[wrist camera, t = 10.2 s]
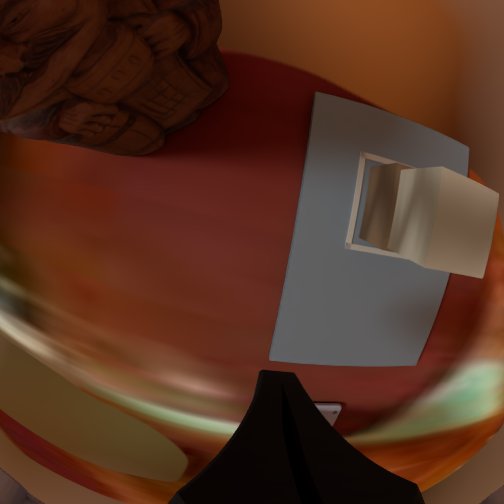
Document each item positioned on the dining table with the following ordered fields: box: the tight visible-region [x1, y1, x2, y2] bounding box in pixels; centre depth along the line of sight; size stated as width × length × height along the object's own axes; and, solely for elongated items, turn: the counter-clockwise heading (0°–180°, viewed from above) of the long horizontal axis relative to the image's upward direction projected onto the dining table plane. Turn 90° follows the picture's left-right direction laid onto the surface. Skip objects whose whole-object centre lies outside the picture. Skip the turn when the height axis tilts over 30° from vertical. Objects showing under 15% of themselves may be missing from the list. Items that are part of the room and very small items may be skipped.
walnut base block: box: [359, 163, 415, 253], centre depth 15 cm, size 5×5×4 cm
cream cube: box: [387, 167, 499, 279], centre depth 12 cm, size 4×4×4 cm
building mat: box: [269, 92, 469, 366], centre depth 18 cm, size 20×14×1 cm
